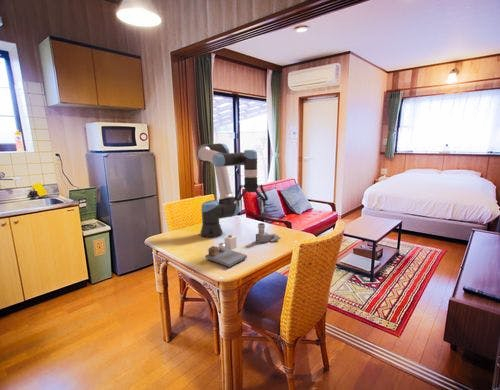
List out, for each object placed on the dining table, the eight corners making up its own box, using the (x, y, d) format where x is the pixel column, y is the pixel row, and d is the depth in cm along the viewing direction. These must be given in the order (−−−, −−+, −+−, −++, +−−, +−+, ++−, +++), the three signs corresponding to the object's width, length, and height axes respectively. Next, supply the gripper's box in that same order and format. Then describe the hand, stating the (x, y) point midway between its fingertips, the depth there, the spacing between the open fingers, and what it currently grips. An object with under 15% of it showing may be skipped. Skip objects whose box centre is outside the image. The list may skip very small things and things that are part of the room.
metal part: (217, 251, 156) (217, 244, 156) (222, 249, 159) (221, 242, 158) (222, 252, 154) (221, 246, 153) (226, 250, 157) (226, 244, 156)
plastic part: (224, 248, 168) (224, 235, 166) (230, 245, 171) (230, 233, 170) (230, 250, 164) (230, 237, 163) (236, 247, 168) (236, 235, 167)
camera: (254, 222, 178) (275, 220, 183) (254, 240, 180) (275, 237, 185) (259, 226, 170) (281, 224, 175) (259, 244, 172) (280, 241, 177)
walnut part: (208, 255, 151) (208, 248, 150) (212, 252, 154) (212, 246, 153) (215, 256, 149) (214, 249, 148) (218, 253, 153) (218, 247, 152)
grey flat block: (205, 259, 151) (205, 255, 151) (223, 251, 162) (223, 247, 161) (229, 268, 140) (229, 264, 140) (247, 259, 151) (246, 255, 150)
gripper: (228, 177, 159) (229, 212, 164) (271, 177, 157) (271, 213, 161) (230, 175, 167) (231, 209, 171) (272, 175, 164) (272, 210, 168)
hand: (251, 211), depth 166 cm, fingers open, 13 cm apart
